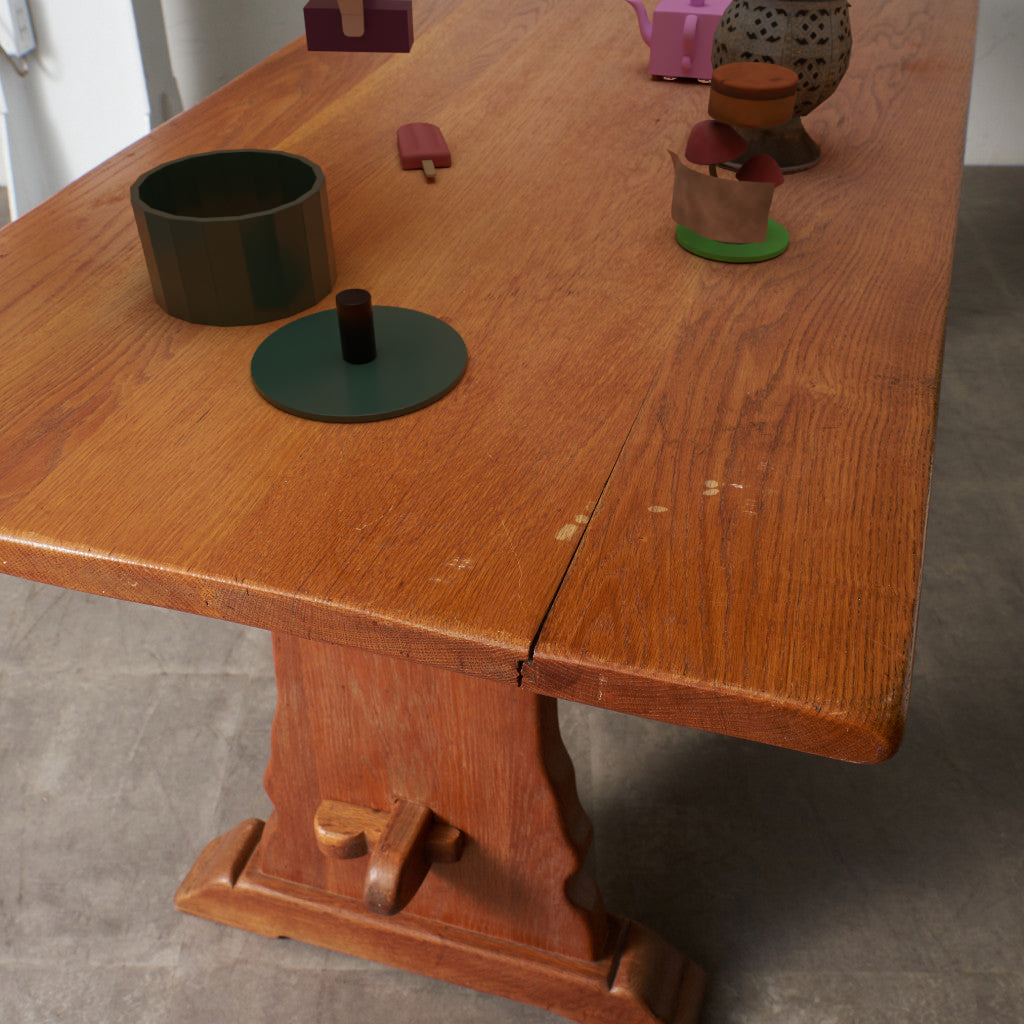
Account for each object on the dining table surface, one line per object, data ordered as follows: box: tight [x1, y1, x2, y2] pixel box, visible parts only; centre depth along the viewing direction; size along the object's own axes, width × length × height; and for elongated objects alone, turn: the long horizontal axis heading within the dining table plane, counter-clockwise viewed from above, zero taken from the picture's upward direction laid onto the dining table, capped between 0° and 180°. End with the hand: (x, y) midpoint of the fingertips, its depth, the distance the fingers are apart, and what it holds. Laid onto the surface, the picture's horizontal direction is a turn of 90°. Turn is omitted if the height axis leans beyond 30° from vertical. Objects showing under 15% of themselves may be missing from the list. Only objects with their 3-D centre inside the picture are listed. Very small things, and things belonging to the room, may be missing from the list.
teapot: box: [624, 0, 732, 81], centre depth 134 cm, size 18×14×10 cm
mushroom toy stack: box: [666, 62, 798, 263], centre depth 91 cm, size 12×13×15 cm
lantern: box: [711, 0, 854, 175], centre depth 106 cm, size 14×14×25 cm
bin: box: [129, 148, 338, 328], centre depth 85 cm, size 15×16×10 cm
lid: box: [249, 288, 468, 424], centre depth 76 cm, size 16×16×6 cm
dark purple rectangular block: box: [302, 0, 415, 54], centre depth 89 cm, size 9×4×4 cm, turn 88°
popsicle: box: [396, 121, 452, 178], centre depth 112 cm, size 5×2×15 cm
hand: (359, 27), depth 89 cm, fingers closed on dark purple rectangular block, 3 cm apart
